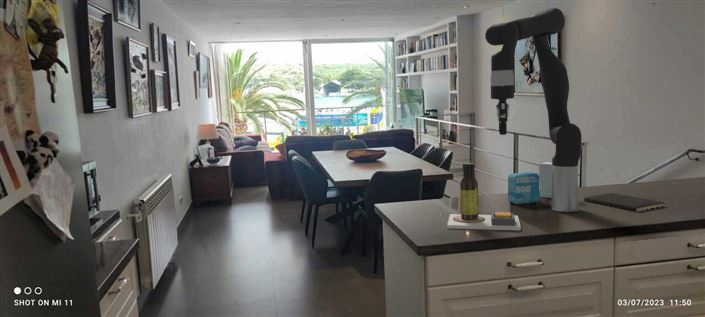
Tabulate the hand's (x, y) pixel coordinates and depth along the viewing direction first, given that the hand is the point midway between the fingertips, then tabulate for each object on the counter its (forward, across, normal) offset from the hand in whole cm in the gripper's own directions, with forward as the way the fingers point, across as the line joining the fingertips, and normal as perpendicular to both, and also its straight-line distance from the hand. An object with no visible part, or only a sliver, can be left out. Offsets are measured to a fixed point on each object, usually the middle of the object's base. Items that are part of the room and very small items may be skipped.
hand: (502, 133), depth 173 cm
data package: (+32, -40, +9) cm, 52 cm away
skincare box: (+32, -51, +21) cm, 64 cm away
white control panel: (+32, -3, -7) cm, 33 cm away
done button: (+29, 0, 0) cm, 29 cm away
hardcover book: (+33, -39, +46) cm, 69 cm away
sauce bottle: (+31, -4, -11) cm, 33 cm away
